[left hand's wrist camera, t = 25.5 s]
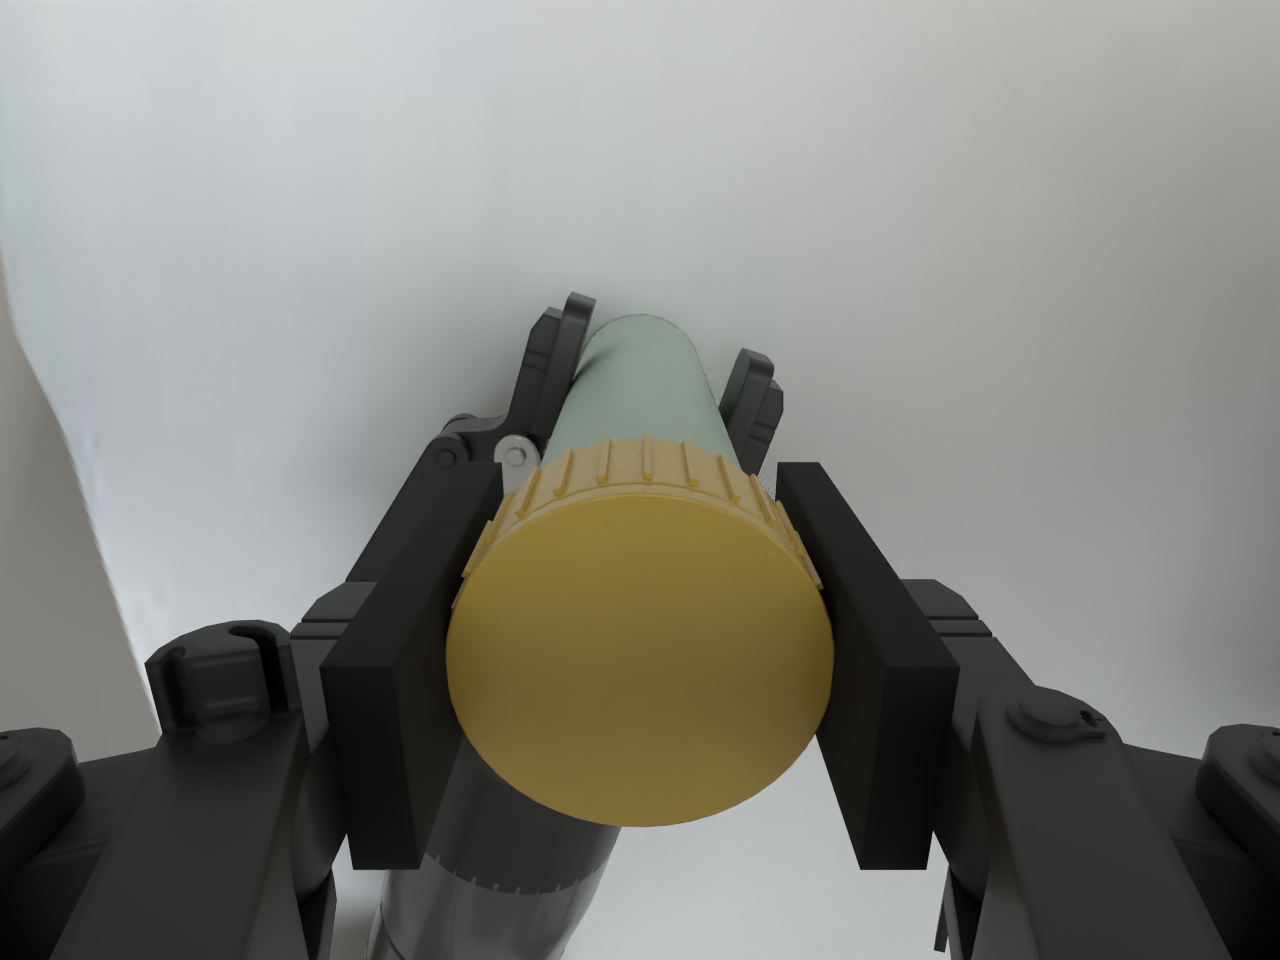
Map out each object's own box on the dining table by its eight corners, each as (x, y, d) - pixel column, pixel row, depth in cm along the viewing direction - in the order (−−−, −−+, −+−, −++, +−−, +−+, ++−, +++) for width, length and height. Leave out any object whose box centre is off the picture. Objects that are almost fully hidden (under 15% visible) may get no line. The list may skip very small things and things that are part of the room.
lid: (760, 388, 11) (790, 434, 9) (835, 682, 13) (876, 782, 10) (423, 487, 11) (373, 555, 9) (540, 757, 13) (520, 867, 11)
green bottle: (687, 301, 26) (764, 460, 10) (711, 419, 28) (812, 727, 11) (565, 329, 27) (448, 527, 10) (595, 445, 28) (534, 778, 12)
